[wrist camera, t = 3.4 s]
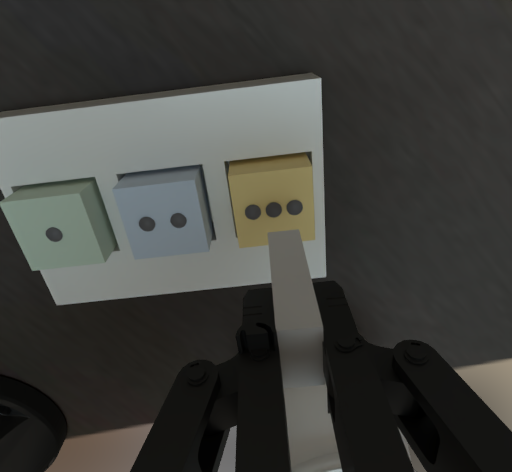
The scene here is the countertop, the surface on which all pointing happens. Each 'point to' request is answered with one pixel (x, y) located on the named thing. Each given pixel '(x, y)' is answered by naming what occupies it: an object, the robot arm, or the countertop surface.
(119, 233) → the button board
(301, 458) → the jar
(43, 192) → the tile one
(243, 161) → the tile three
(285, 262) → the robot arm
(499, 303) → the countertop surface
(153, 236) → the tile two
